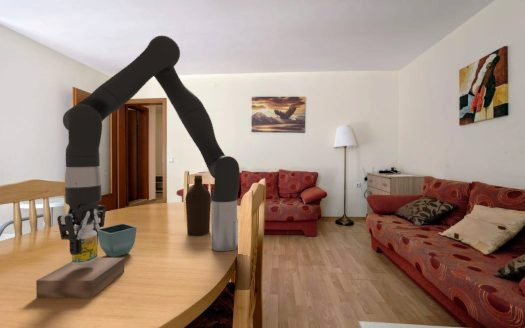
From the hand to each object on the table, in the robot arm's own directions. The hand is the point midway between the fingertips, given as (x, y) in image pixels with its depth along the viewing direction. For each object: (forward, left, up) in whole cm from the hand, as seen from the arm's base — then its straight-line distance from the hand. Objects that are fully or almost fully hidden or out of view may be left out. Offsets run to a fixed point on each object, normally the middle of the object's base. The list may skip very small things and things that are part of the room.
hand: (85, 249), depth 63 cm
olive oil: (-18, -43, -9) cm, 47 cm away
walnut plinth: (0, 0, -9) cm, 9 cm away
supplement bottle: (0, 0, -3) cm, 3 cm away
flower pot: (+3, -19, -9) cm, 21 cm away
